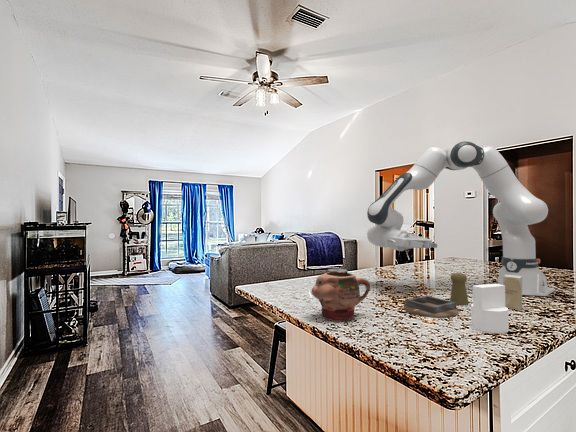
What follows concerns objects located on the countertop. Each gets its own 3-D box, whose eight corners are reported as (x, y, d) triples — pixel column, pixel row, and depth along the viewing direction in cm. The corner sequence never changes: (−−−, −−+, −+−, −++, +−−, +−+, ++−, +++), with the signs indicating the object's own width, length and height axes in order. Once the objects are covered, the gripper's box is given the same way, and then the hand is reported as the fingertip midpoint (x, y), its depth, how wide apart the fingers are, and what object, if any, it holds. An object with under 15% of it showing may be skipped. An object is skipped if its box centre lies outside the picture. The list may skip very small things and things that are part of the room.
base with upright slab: (491, 335, 86) (490, 290, 86) (464, 324, 94) (463, 283, 94) (516, 331, 88) (516, 287, 88) (487, 321, 97) (487, 281, 97)
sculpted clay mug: (358, 308, 112) (358, 268, 112) (379, 318, 101) (379, 274, 101) (305, 314, 106) (305, 272, 106) (322, 326, 94) (321, 278, 94)
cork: (471, 306, 113) (470, 274, 113) (452, 305, 115) (452, 274, 115) (465, 301, 119) (464, 272, 119) (447, 301, 120) (447, 271, 121)
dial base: (425, 301, 121) (425, 293, 121) (469, 312, 106) (469, 303, 106) (393, 307, 112) (393, 299, 112) (436, 321, 98) (436, 311, 98)
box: (502, 307, 111) (502, 275, 111) (504, 305, 114) (504, 274, 114) (521, 310, 107) (520, 277, 107) (523, 308, 110) (522, 275, 110)
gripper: (385, 232, 132) (415, 236, 121) (414, 233, 144) (444, 238, 132) (383, 247, 132) (413, 253, 121) (412, 247, 144) (442, 253, 133)
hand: (429, 245), depth 127 cm, fingers open, 8 cm apart
